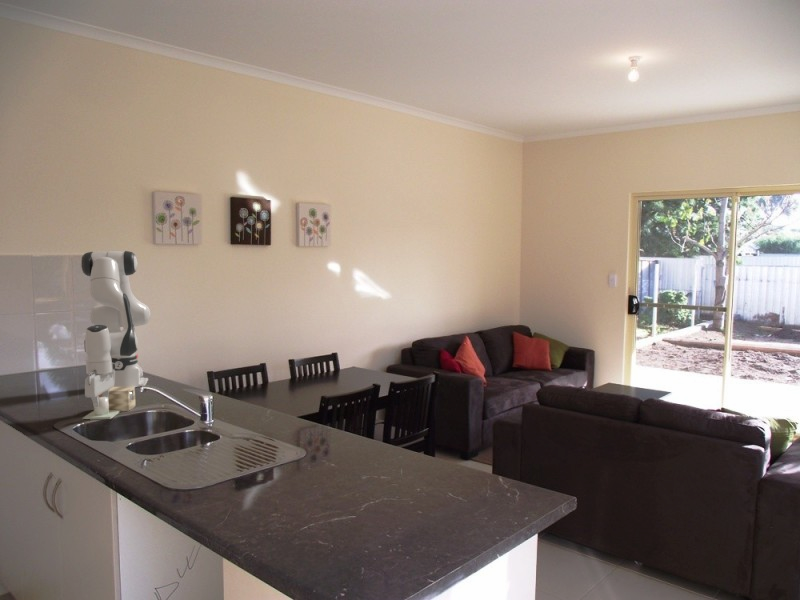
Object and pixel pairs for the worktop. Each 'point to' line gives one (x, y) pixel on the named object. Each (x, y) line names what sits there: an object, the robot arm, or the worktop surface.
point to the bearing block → (121, 398)
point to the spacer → (102, 406)
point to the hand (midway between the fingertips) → (101, 404)
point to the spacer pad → (107, 416)
